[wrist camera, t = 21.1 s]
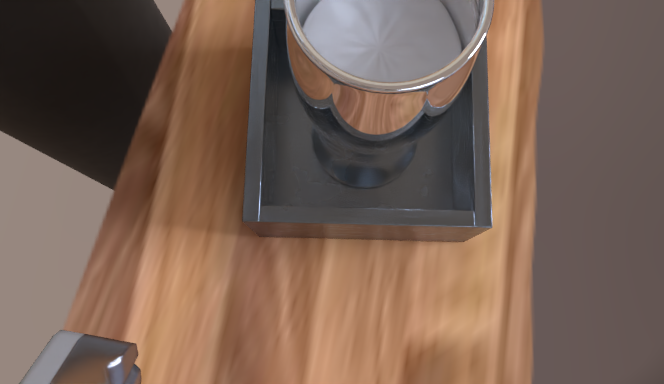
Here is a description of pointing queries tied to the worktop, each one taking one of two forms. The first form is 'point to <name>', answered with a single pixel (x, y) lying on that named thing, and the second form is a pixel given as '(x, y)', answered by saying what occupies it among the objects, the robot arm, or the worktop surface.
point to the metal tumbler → (379, 76)
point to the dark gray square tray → (348, 201)
